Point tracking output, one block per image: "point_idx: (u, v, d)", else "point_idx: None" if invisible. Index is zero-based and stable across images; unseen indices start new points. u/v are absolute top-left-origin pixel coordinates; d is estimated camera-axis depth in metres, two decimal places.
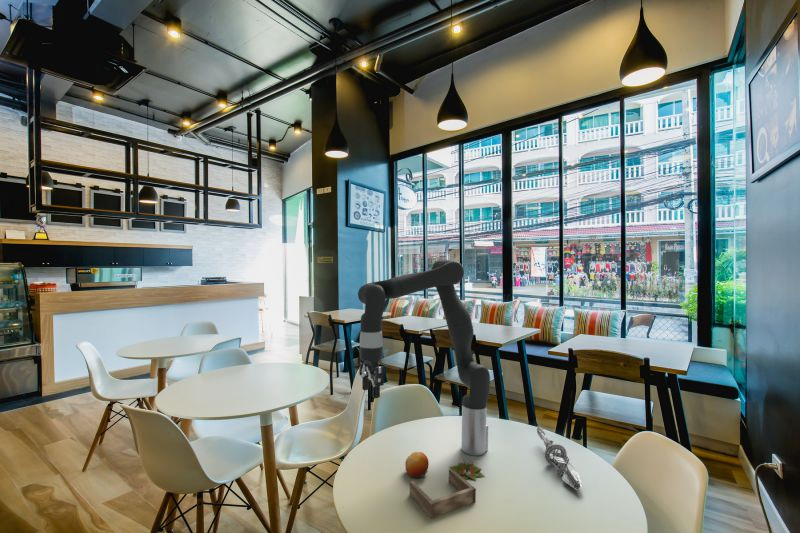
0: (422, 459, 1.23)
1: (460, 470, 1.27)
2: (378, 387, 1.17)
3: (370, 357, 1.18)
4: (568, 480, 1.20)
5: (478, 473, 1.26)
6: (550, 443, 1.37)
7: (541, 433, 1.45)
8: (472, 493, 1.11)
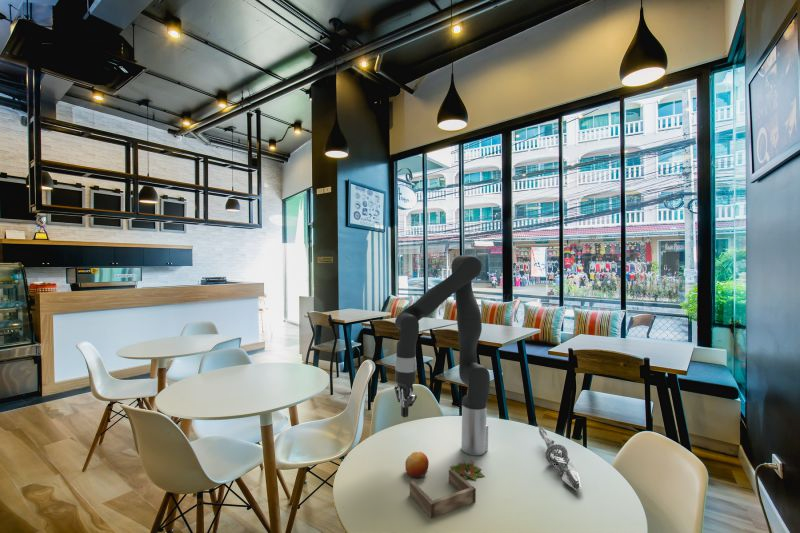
0: (422, 459, 1.23)
1: (460, 470, 1.27)
2: (407, 407, 1.32)
3: (405, 380, 1.30)
4: (568, 480, 1.20)
5: (478, 473, 1.26)
6: (551, 443, 1.37)
7: (543, 433, 1.45)
8: (472, 493, 1.11)
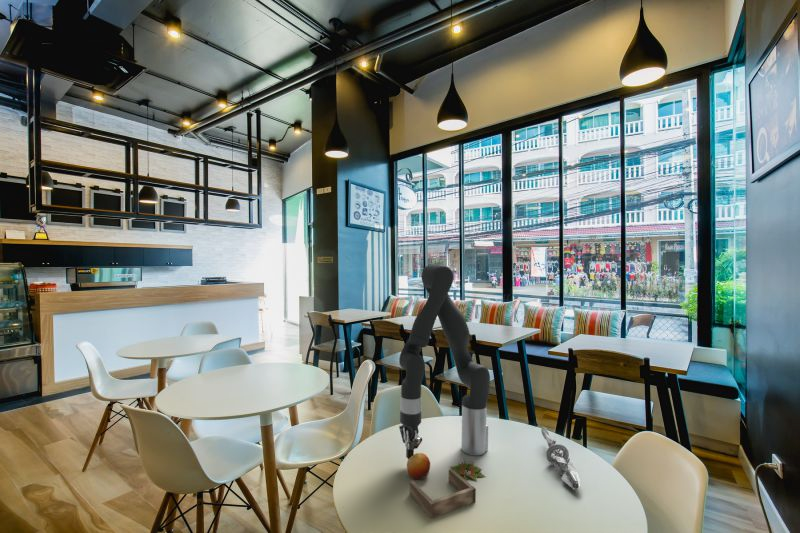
0: (423, 460, 1.22)
1: (460, 470, 1.27)
2: (412, 449, 1.29)
3: (410, 422, 1.26)
4: (567, 480, 1.20)
5: (478, 473, 1.26)
6: (553, 443, 1.37)
7: (545, 433, 1.45)
8: (472, 493, 1.11)
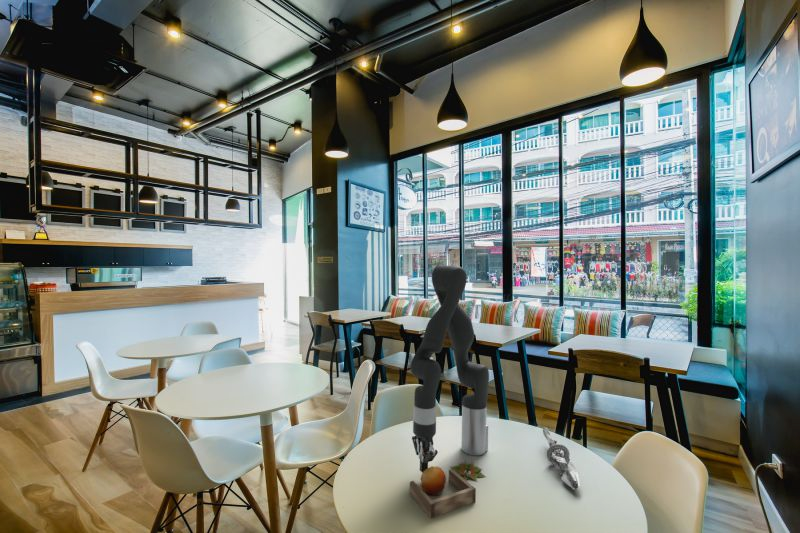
0: (439, 475, 1.14)
1: (460, 470, 1.27)
2: (426, 462, 1.20)
3: (425, 434, 1.18)
4: (567, 480, 1.20)
5: (478, 473, 1.26)
6: (554, 443, 1.37)
7: (546, 433, 1.45)
8: (472, 493, 1.11)
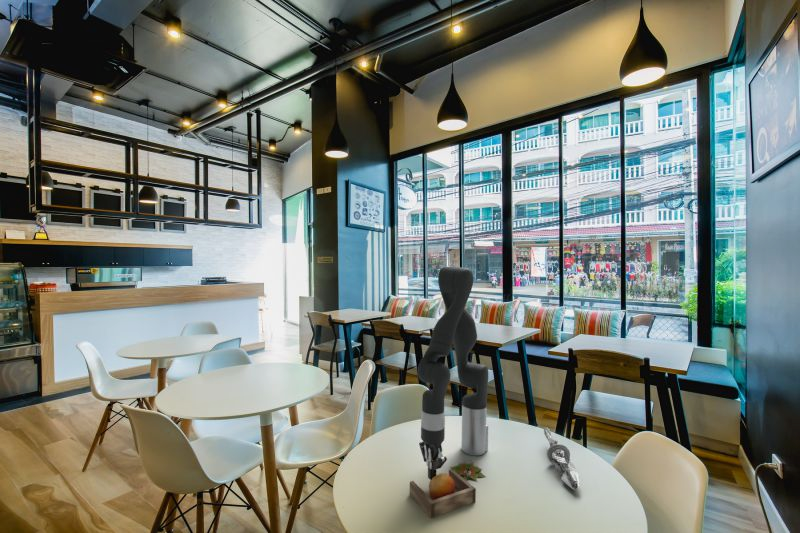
0: (448, 483, 1.10)
1: (460, 470, 1.27)
2: (435, 469, 1.16)
3: (433, 440, 1.14)
4: (567, 480, 1.20)
5: (479, 473, 1.26)
6: (554, 443, 1.37)
7: (547, 433, 1.45)
8: (472, 493, 1.11)
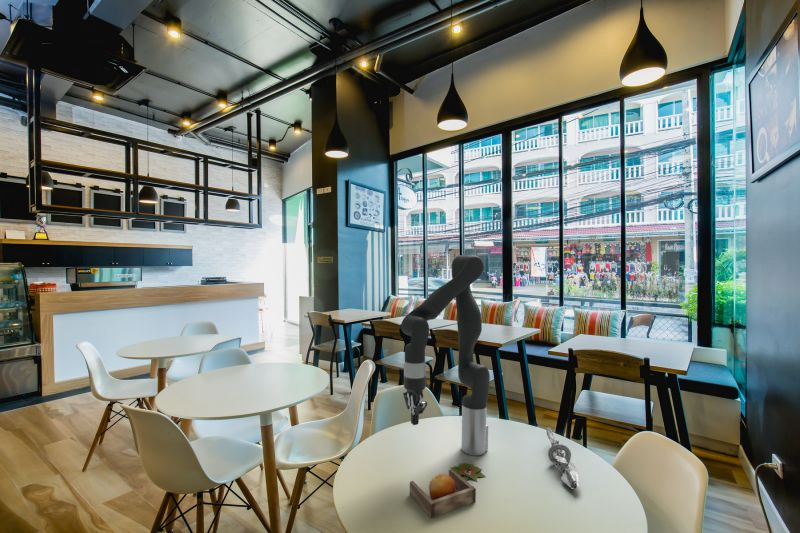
0: (448, 483, 1.10)
1: (461, 470, 1.27)
2: (417, 415, 1.26)
3: (415, 387, 1.24)
4: (566, 479, 1.20)
5: (479, 473, 1.26)
6: (556, 443, 1.37)
7: (549, 433, 1.45)
8: (472, 493, 1.11)
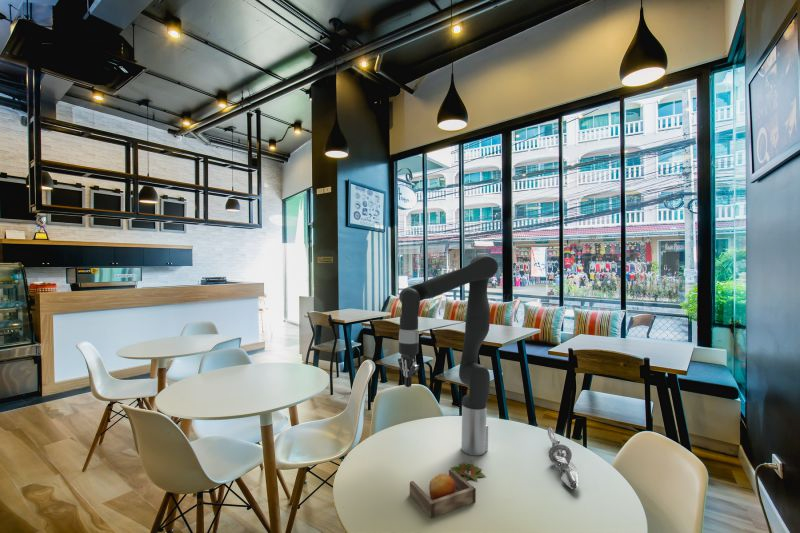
0: (448, 483, 1.10)
1: (461, 471, 1.27)
2: (410, 377, 1.39)
3: (408, 351, 1.36)
4: (566, 479, 1.20)
5: (479, 473, 1.26)
6: (556, 443, 1.37)
7: (550, 433, 1.45)
8: (472, 493, 1.11)
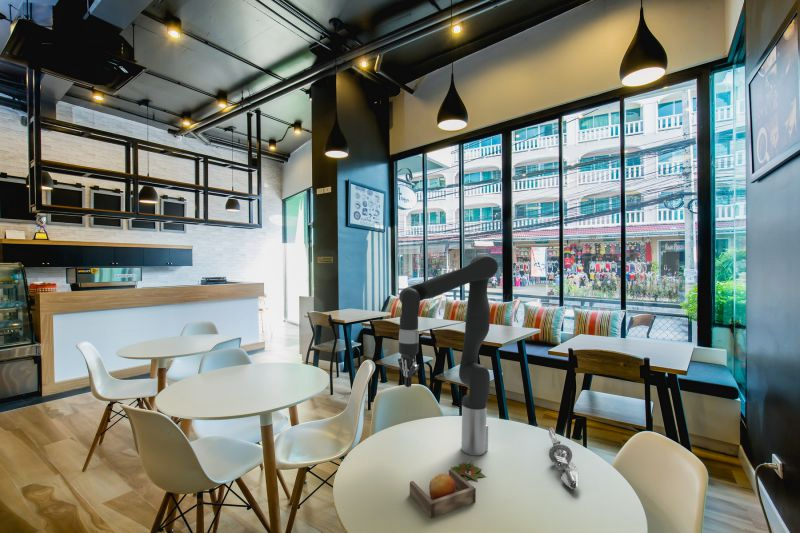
0: (448, 483, 1.10)
1: (461, 471, 1.27)
2: (410, 377, 1.39)
3: (408, 351, 1.36)
4: (566, 479, 1.20)
5: (479, 473, 1.26)
6: (557, 443, 1.37)
7: (551, 433, 1.45)
8: (472, 493, 1.11)
